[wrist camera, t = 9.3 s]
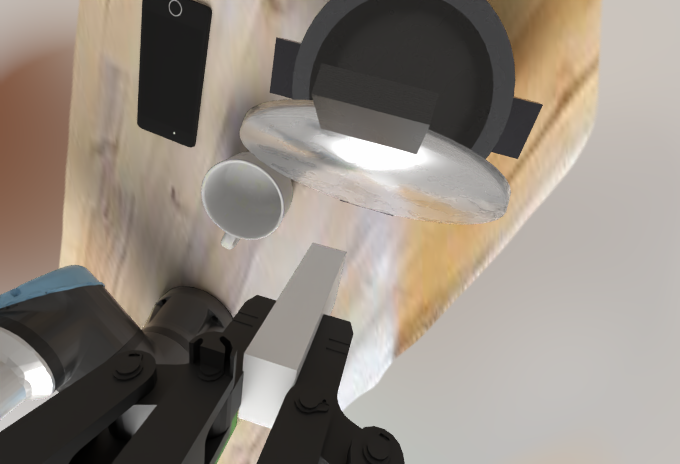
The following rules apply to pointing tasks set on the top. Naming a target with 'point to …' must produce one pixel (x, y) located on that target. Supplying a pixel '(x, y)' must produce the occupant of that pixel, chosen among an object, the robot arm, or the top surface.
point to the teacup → (245, 198)
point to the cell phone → (172, 67)
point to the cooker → (420, 64)
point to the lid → (375, 150)
